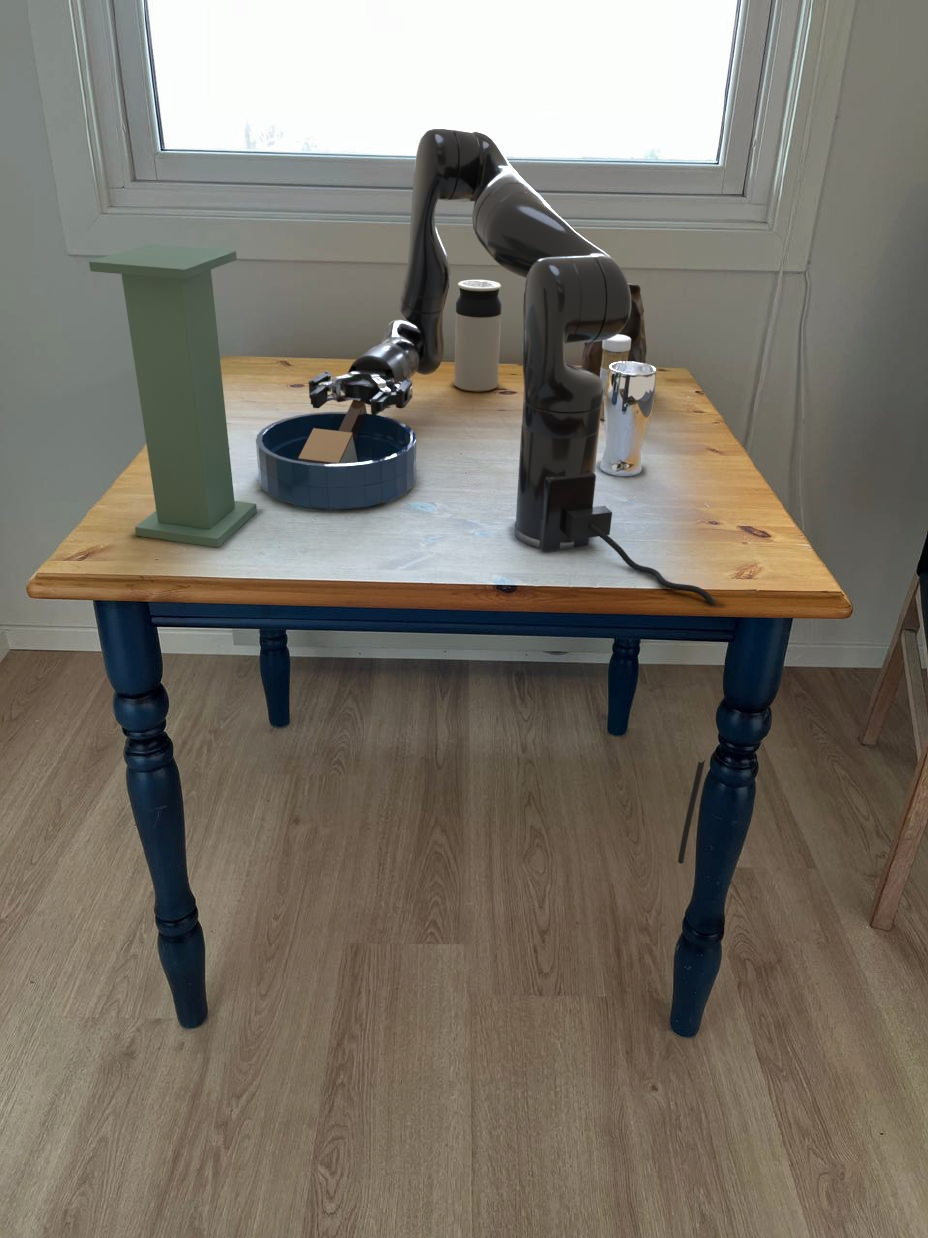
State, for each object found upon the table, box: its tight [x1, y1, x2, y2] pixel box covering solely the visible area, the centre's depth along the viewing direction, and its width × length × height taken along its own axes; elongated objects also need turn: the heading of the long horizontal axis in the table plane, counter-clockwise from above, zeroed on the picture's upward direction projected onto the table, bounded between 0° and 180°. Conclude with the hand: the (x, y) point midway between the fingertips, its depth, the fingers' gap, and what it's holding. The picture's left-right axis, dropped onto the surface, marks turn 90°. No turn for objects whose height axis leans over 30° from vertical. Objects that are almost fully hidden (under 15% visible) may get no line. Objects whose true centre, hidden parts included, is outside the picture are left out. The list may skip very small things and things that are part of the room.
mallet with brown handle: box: [298, 400, 368, 464], centre depth 131 cm, size 16×6×5 cm, turn 166°
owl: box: [580, 282, 648, 377], centre depth 167 cm, size 13×13×20 cm
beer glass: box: [599, 362, 657, 477], centre depth 136 cm, size 7×7×15 cm
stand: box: [88, 243, 258, 548], centre depth 111 cm, size 12×11×32 cm
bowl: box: [255, 411, 417, 511], centre depth 131 cm, size 22×22×6 cm
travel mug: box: [453, 279, 503, 393], centre depth 169 cm, size 8×8×18 cm
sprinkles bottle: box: [600, 334, 631, 421], centre depth 157 cm, size 5×5×14 cm
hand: (343, 404), depth 130 cm, fingers open, 8 cm apart
